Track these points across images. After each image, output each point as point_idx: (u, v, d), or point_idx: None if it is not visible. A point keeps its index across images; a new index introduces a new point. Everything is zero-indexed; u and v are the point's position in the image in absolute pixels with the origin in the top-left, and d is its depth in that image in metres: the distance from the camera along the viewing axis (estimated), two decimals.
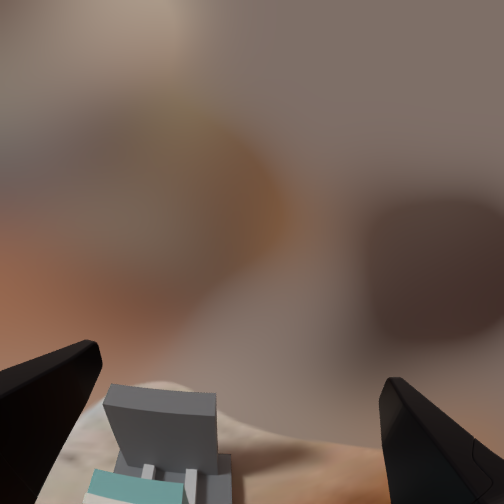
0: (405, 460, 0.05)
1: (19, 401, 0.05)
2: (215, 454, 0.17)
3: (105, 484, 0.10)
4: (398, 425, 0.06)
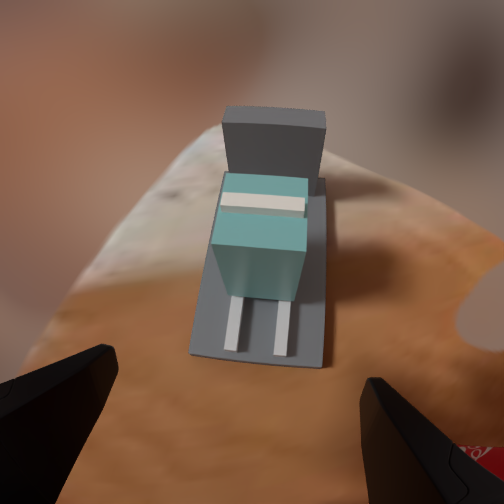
0: (382, 463, 0.06)
1: (36, 409, 0.05)
2: (317, 171, 0.23)
3: (237, 184, 0.16)
4: (376, 426, 0.06)
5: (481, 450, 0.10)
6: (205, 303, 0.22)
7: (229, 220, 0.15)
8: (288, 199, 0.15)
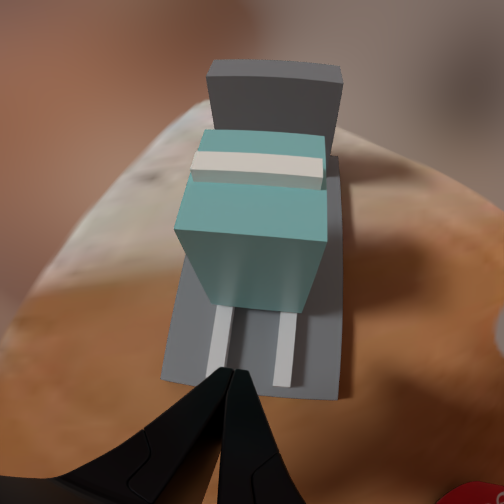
0: None
1: None
2: (331, 143, 0.17)
3: (220, 144, 0.10)
4: None
5: None
6: (182, 313, 0.16)
7: (204, 193, 0.09)
8: (297, 160, 0.09)
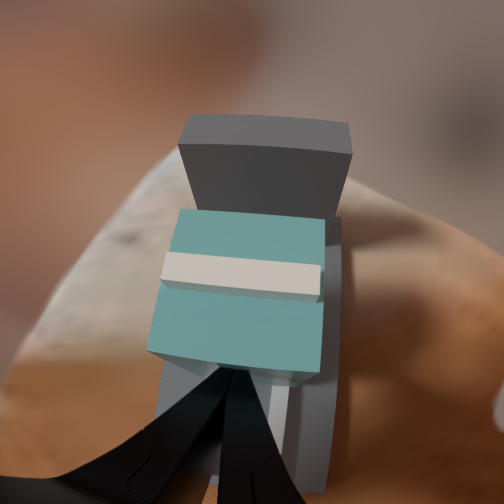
0: None
1: (182, 462, 0.05)
2: (332, 216, 0.15)
3: (198, 232, 0.09)
4: None
5: None
6: (166, 408, 0.14)
7: (179, 306, 0.08)
8: (289, 269, 0.08)
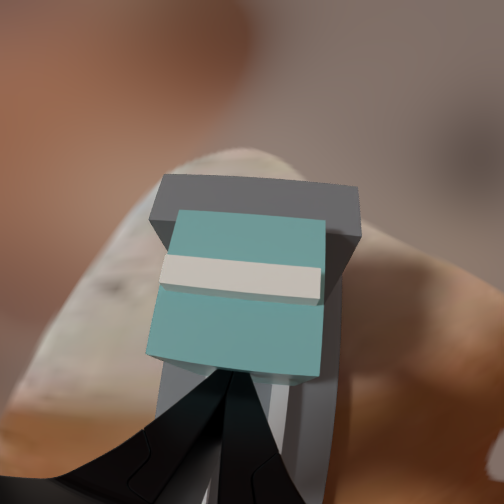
0: None
1: (183, 462, 0.05)
2: (333, 284, 0.13)
3: (197, 233, 0.09)
4: None
5: None
6: None
7: (178, 309, 0.08)
8: (289, 272, 0.08)
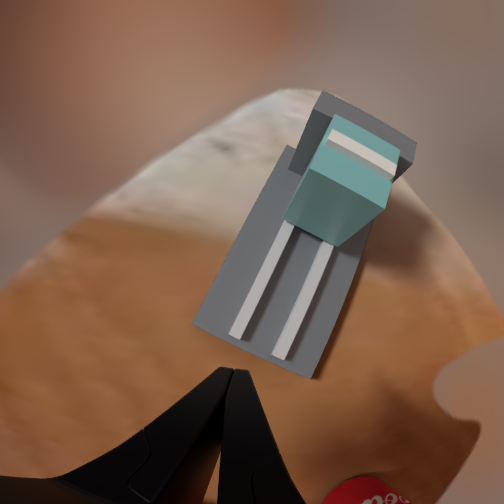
0: None
1: (183, 462, 0.05)
2: None
3: (343, 128, 0.16)
4: None
5: None
6: (223, 279, 0.21)
7: (329, 155, 0.15)
8: (384, 160, 0.15)
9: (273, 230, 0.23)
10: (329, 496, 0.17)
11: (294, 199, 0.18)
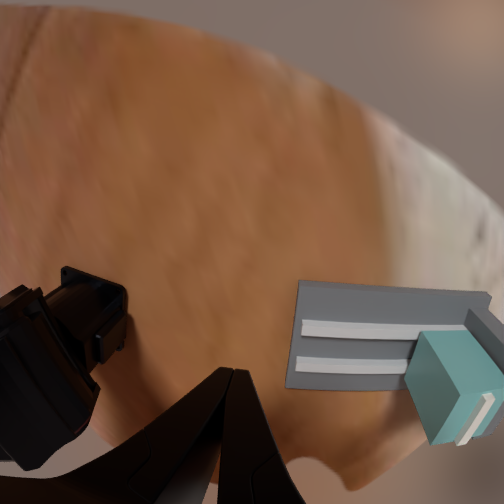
0: None
1: (183, 462, 0.05)
2: None
3: (498, 397, 0.12)
4: None
5: None
6: (352, 297, 0.20)
7: (473, 401, 0.12)
8: (469, 436, 0.13)
9: (409, 320, 0.20)
10: None
11: (437, 358, 0.16)
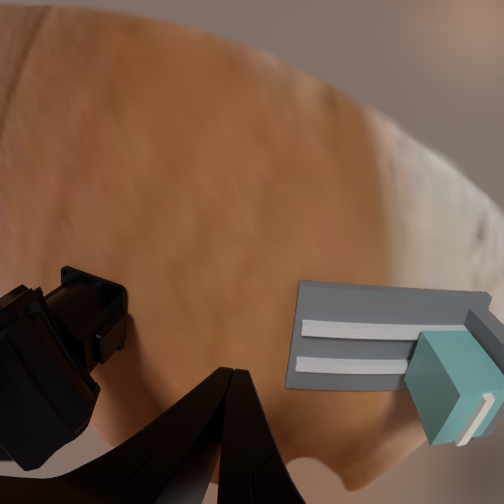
0: None
1: None
2: None
3: (498, 397, 0.12)
4: None
5: None
6: (352, 297, 0.20)
7: (473, 401, 0.12)
8: (469, 437, 0.13)
9: (409, 320, 0.20)
10: None
11: (438, 359, 0.16)
